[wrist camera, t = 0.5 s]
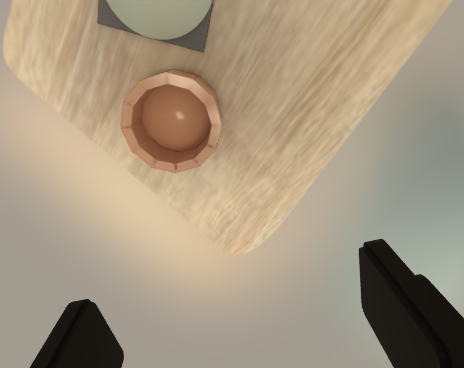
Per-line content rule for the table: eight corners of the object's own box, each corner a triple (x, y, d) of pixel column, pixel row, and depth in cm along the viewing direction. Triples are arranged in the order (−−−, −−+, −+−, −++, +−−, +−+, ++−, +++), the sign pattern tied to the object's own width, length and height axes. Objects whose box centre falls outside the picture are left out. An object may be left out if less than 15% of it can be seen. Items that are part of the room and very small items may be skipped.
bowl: (140, 60, 31) (126, 62, 27) (229, 83, 33) (230, 89, 28) (130, 146, 35) (117, 160, 31) (210, 164, 37) (208, 179, 32)
